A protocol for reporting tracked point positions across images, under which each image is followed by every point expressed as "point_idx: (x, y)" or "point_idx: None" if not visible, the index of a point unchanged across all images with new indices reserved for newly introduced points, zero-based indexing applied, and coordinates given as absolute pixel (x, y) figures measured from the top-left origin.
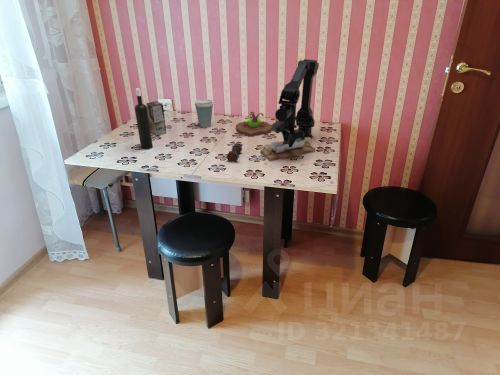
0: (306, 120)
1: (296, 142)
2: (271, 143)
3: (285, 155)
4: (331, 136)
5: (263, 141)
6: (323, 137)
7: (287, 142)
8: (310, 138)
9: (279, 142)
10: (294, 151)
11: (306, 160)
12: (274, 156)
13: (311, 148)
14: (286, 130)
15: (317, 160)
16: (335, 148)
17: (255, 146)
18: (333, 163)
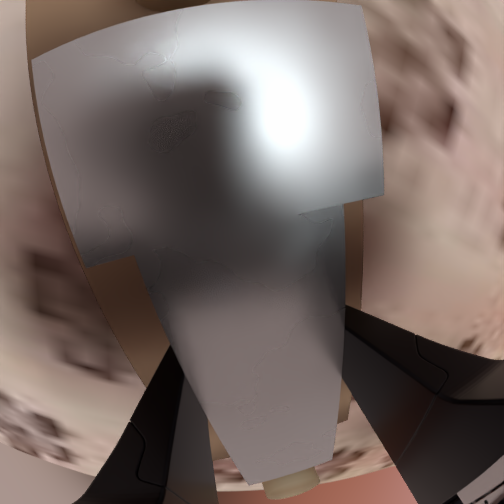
0: (451, 497)
1: (225, 445)
2: (319, 3)
3: (66, 218)
4: (351, 470)
5: (501, 129)
6: (361, 455)
7: (254, 362)
8: (279, 498)
9: (312, 206)
10: (162, 349)
11: (37, 375)
12: (47, 50)
13: (212, 451)
14: (462, 486)
15: (53, 424)
16: (222, 490)
17: (452, 14)
18: (37, 455)
